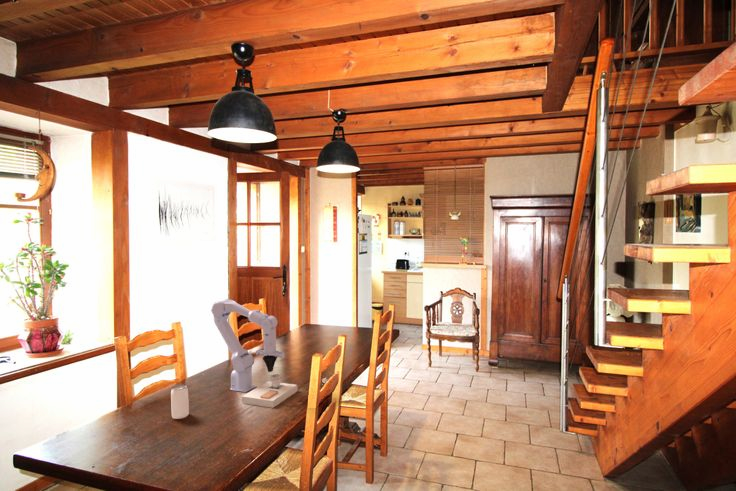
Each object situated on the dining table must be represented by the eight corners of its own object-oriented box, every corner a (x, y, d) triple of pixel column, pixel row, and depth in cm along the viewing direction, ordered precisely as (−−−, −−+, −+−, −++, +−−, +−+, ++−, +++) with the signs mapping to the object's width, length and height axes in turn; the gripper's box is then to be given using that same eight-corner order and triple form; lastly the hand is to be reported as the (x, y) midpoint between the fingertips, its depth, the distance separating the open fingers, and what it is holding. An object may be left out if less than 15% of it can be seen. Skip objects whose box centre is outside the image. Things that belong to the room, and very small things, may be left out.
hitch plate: (241, 403, 189) (241, 396, 189) (268, 387, 208) (268, 381, 208) (273, 407, 184) (272, 400, 184) (297, 391, 202) (297, 384, 202)
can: (172, 420, 173) (171, 391, 173) (171, 414, 179) (170, 386, 178) (189, 417, 176) (188, 388, 176) (188, 411, 182) (187, 383, 181)
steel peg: (269, 394, 199) (268, 377, 199) (274, 390, 203) (273, 374, 203) (278, 395, 198) (278, 378, 197) (283, 391, 202) (282, 374, 202)
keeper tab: (260, 398, 187) (260, 396, 187) (270, 391, 194) (270, 389, 194) (268, 399, 186) (268, 397, 186) (277, 392, 193) (277, 390, 192)
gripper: (251, 343, 202) (252, 372, 202) (277, 346, 196) (278, 375, 197) (260, 339, 208) (261, 367, 209) (286, 342, 203) (287, 370, 203)
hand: (270, 371), depth 203 cm, fingers closed
